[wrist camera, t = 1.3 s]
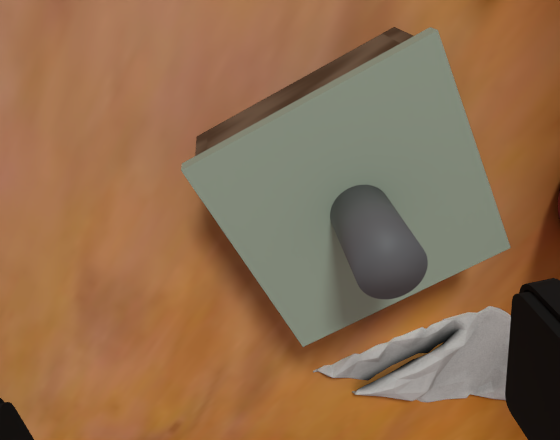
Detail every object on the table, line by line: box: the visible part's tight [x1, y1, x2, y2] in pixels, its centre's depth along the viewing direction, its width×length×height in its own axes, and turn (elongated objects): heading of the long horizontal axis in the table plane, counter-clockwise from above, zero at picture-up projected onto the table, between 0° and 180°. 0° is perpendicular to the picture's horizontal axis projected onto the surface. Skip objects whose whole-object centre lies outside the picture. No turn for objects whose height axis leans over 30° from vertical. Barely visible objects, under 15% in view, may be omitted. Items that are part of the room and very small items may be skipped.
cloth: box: [313, 306, 511, 402], centre depth 45 cm, size 26×14×2 cm, turn 69°
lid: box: [181, 27, 511, 347], centre depth 28 cm, size 15×15×7 cm
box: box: [195, 27, 413, 156], centre depth 33 cm, size 14×14×5 cm
